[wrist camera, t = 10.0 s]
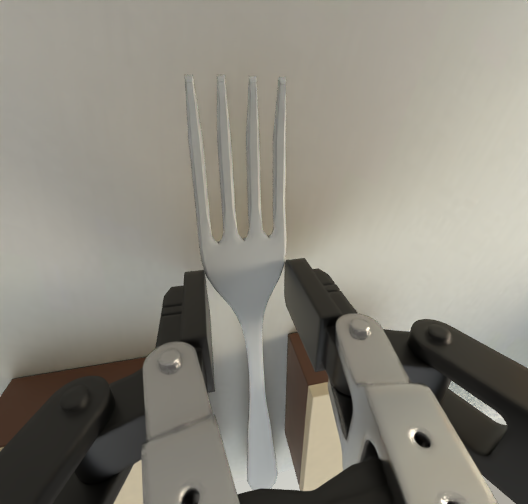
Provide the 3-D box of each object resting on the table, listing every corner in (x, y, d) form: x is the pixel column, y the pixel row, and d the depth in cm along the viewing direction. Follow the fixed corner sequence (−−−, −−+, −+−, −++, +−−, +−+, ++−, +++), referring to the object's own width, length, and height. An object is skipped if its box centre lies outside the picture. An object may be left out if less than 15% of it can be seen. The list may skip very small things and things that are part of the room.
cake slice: (284, 431, 19) (302, 498, 16) (287, 333, 15) (312, 397, 12) (339, 419, 20) (366, 481, 17) (357, 321, 16) (398, 379, 13)
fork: (240, 494, 19) (243, 528, 18) (172, 80, 8) (165, 75, 6) (285, 482, 20) (293, 514, 18) (284, 76, 8) (303, 71, 7)
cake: (76, 477, 17) (48, 567, 14) (11, 378, 13) (-52, 473, 10) (210, 448, 19) (213, 522, 15) (191, 349, 14) (190, 423, 11)
